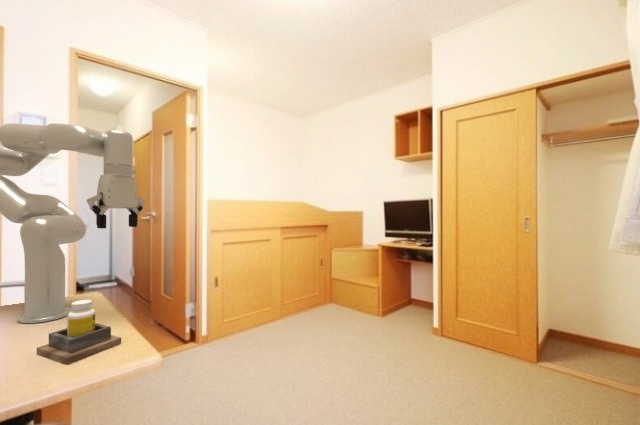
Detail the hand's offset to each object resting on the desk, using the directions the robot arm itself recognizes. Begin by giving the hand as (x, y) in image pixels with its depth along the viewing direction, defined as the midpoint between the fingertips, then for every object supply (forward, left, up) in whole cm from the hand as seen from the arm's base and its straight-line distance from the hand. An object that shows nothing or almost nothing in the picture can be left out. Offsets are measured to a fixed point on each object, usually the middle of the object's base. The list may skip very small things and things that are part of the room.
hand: (118, 227), depth 96 cm
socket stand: (+12, -17, -28) cm, 35 cm away
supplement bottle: (+12, -17, -27) cm, 34 cm away
